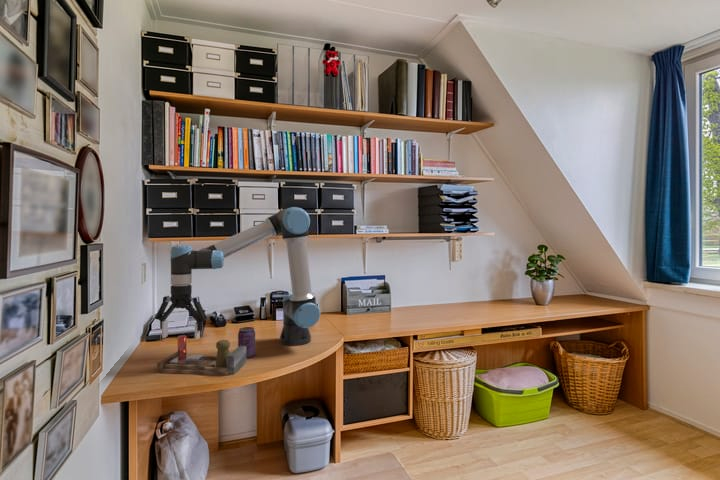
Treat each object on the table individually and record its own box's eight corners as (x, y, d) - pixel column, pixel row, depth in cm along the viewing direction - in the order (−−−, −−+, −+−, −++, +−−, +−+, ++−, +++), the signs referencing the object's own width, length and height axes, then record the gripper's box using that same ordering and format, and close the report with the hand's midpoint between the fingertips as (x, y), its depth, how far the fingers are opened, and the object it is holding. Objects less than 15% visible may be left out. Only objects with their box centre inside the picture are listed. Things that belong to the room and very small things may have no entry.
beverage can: (245, 352, 169) (245, 326, 168) (258, 354, 166) (258, 327, 166) (234, 357, 162) (234, 330, 162) (248, 360, 160) (248, 331, 159)
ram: (206, 360, 155) (206, 334, 155) (196, 367, 147) (195, 339, 147) (180, 359, 156) (180, 333, 156) (169, 366, 148) (168, 339, 148)
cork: (212, 370, 148) (211, 342, 148) (220, 364, 154) (219, 337, 154) (226, 371, 147) (226, 343, 147) (234, 365, 153) (233, 338, 153)
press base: (247, 362, 157) (247, 345, 157) (232, 375, 143) (232, 357, 143) (178, 359, 160) (177, 343, 160) (157, 372, 146) (156, 354, 146)
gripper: (215, 284, 154) (215, 336, 154) (157, 282, 156) (157, 333, 157) (206, 286, 146) (206, 341, 147) (145, 285, 149) (145, 339, 149)
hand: (181, 337), depth 152 cm, fingers open, 13 cm apart
